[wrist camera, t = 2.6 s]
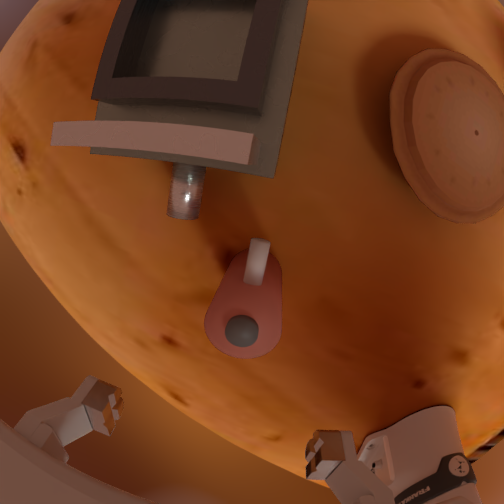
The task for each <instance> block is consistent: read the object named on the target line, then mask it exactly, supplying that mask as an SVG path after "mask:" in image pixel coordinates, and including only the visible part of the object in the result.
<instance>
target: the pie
mask: <svg viewBox="0 0 504 504" xmlns="http://www.w3.org/2000/svg"><path fill="white" fill-rule="evenodd" d="M389 108H390V128H391V135H392V143H393V151H394V153H395V156H396V158H397V160H398V163H399V165H400V168H401V170H402V173H403V175H404V178H405V179H406V181H407V182H408V183H409V185H410V186H411V188H412V189H413V191H414V192H415V194H416V195H417V197H418V198H419V200H420V201H421V202H422V203H423V204H424V205H426V206H427V207H428V208H429V209H430V210H431V211H432V212H433V213H435V214H436V215H437V216H438V217H441V218H444V219H446V220H449V221H452V222H455V223H477V222H479V221H481V220H484V219H486V218H488V217H491V216H492V215H493V214H495V213H496V212H497V211H498V210H500V209H501V208H502V207H503V206H504V95H503V93H502V92H501V90H500V88H499V87H498V85H497V84H496V82H495V81H494V80H493V79H492V78H491V77H490V75H489V74H488V73H487V72H486V71H485V70H484V69H483V68H482V67H481V66H480V65H479V64H477V63H476V62H474V61H473V60H471V59H470V58H468V57H467V56H465V55H463V54H460V53H457V52H454V51H451V50H447V49H425V50H423V51H421V52H419V53H417V54H415V55H413V56H411V57H410V58H409V59H408V60H407V61H406V62H405V63H404V65H403V66H402V67H401V68H400V69H399V70H398V71H397V72H396V75H395V78H394V81H393V84H392V87H391V90H390V93H389Z"/></svg>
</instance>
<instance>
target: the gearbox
mask: <svg viewBox="0 0 504 504" xmlns="http://www.w3.org/2000/svg"><path fill="white" fill-rule="evenodd" d="M307 6H308V0H121V2H120V5H119V7H118V10H117V12H116V15H115V18H114V20H113V23H112V26H111V29H110V31H109V34H108V37H107V40H106V43H105V47H104V50H103V53H102V57H101V60H100V64H99V67H98V71H97V75H96V79H95V83H94V87H93V92H92V96H91V99H92V100H96V101H99V102H98V107H97V112H96V118H95V121H65V122H54V124H53V131H52V138H51V146H88V147H91V150H90V154H100V155H113V156H124V157H135V158H144V159H153V160H162V161H170V162H174V163H173V169H172V176H171V183H170V191H169V198H168V207H167V215H168V216H170V217H173V218H177V219H185V220H193V219H198V218H199V212H200V205H201V198H202V192H203V186H204V179H205V173H206V167H212V168H218V169H224V170H230V171H236V172H241V173H247V174H252V175H257V176H263V177H268V178H274V176H275V172H276V167H277V162H278V157H279V152H280V147H281V142H282V137H283V132H284V127H285V122H286V117H287V111H288V106H289V101H290V96H291V91H292V86H293V80H294V75H295V70H296V65H297V59H298V54H299V49H300V44H301V38H302V33H303V28H304V22H305V17H306V11H307Z"/></svg>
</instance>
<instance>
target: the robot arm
mask: <svg viewBox="0 0 504 504" xmlns="http://www.w3.org/2000/svg"><path fill="white" fill-rule="evenodd" d="M121 394H122V390H121V388H120V387H117V386H114V385H112V384H110V383H107V382H105V381H102V380H100V379H98V378H96V377H93V376H91V375H89V376H88V377H86V379H85V380H84V381H83V383H82V384H81V385H80V387H79V388H78V389H77V391H76V392H75V393H74V395H73V396H72V397H71V398H69V397H67V398H64V399H62V400H59V401H56V402H53V403H50V404H47V405H44V406H41V407H38V408H35V409H32V410H29V411H27V412H26V413H25V415H24V416H23V417H22V419H21V420H20V421H19V422H18V424H17V425H16V426H15V428H14V429H12V428H11V427H10V426H8V425H7V424H6V423H5V422H3V421H2V420H1V419H0V504H159V503H156V502H153V501H149V500H147V499H143V498H141V497H138V496H135V495H132V494H130V493H127V492H125V491H122V490H120V489H117V488H114V487H112V486H110V485H108V484H105V483H103V482H101V481H99V480H97V479H94V478H92V477H90V476H88V475H86V474H84V473H82V472H80V471H78V470H76V469H75V468H73V467H71V466H69V465H67V464H66V462H67V460H68V459H69V456H68V454H67V453H66V451H65V449H64V448H63V446H65V445H67V444H69V443H70V442H72V441H74V440H76V439H78V438H80V437H82V436H83V435H85V434H87V433H89V432H90V431H92V430H93V429H94V430H96V431H98V432H101V433H103V434H105V435H108V436H110V435H111V433H112V431H113V429H114V428H115V426H116V425H115V420H117V419H119V418H120V417H121V415H122V412H123V409H124V401H123V399H122V397H121ZM305 459H306V460H307V461H308V462H309V463H308V465H307V466H306V479H314V480H325V481H326V483H327V484H328V486H329V487H330V488H331V490H332V491H333V492H334V494H335V495H336V497H337V498H338V499H339V501H340V502H341V503H342V504H482V501H481V499H480V496H479V494H478V491H477V489H476V486H475V484H476V482H477V480H476V477H475V474H474V471H473V469H472V466H471V464H470V463H469V461H468V460H467V458H466V457H465V455H464V451H463V447H462V444H461V440H460V436H459V432H458V428H457V423H456V417H455V411H454V410H453V409H452V408H451V407H448V406H436V407H431V408H428V409H424V410H422V411H419V412H417V413H414V414H412V415H410V416H408V417H406V418H404V419H402V420H401V421H399V422H397V423H396V424H394V425H393V426H391V427H389V428H387V429H385V430H382V431H379V432H376V433H373V434H371V435H369V436H367V437H366V438H365V440H364V442H363V444H362V446H361V448H360V450H359V452H358V454H356V449H355V444H354V440H353V435H352V432H351V431H339V430H316V431H315V432H314V433H313V438H312V439H310V440H309V442H308V443H307V446H306V451H305Z"/></svg>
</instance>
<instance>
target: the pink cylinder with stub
mask: <svg viewBox="0 0 504 504" xmlns="http://www.w3.org/2000/svg"><path fill="white" fill-rule="evenodd" d="M269 248H270V242H269V241H268V240H265V239H261V238H252V239H251V243H250V248H249V249H246V250H244V251H241V252H240V253H238V254H237V255H236V256H235V257H234V258H233V259H232V261H231V263H230V265H229V267H228V269H227V271H226V273H225V275H224V277H223V279H222V281H221V284H220V286H219V288H218V290H217V292H216V294H215V296H214V298H213V300H212V302H211V305H210V307H209V309H208V311H207V313H206V316H205V321H204V326H205V331H206V334H207V336H208V338H209V340H210V341H211V343H212V344H213V345H214V346H215V347H216V348H217V349H219V350H220V351H222V352H223V353H225V354H227V355H230V356H232V357H236V358H244V359H248V358H256V357H260V356H262V355H264V354H266V353H268V352H269V351H271V350H272V349H273V348H274V347H275V346H276V345H277V343H278V341H279V339H280V337H281V333H282V271H281V266H280V264H279V262H278V260H277V259H276V258H275V257H274V256H273V255H272V254H271V253H269Z"/></svg>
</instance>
